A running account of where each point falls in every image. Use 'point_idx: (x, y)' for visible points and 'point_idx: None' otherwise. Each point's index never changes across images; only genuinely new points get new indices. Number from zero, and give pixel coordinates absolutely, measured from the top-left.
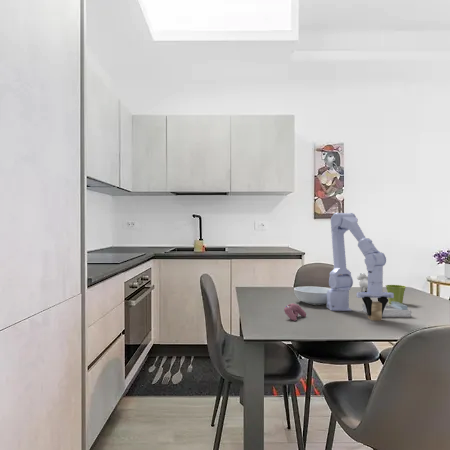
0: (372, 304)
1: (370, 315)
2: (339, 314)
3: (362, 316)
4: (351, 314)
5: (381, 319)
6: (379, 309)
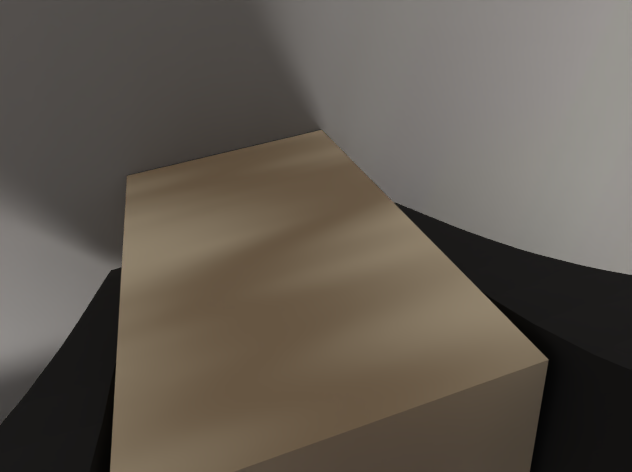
0: (497, 329)
1: None
2: None
3: None
4: None
5: (131, 181)
6: (197, 292)
